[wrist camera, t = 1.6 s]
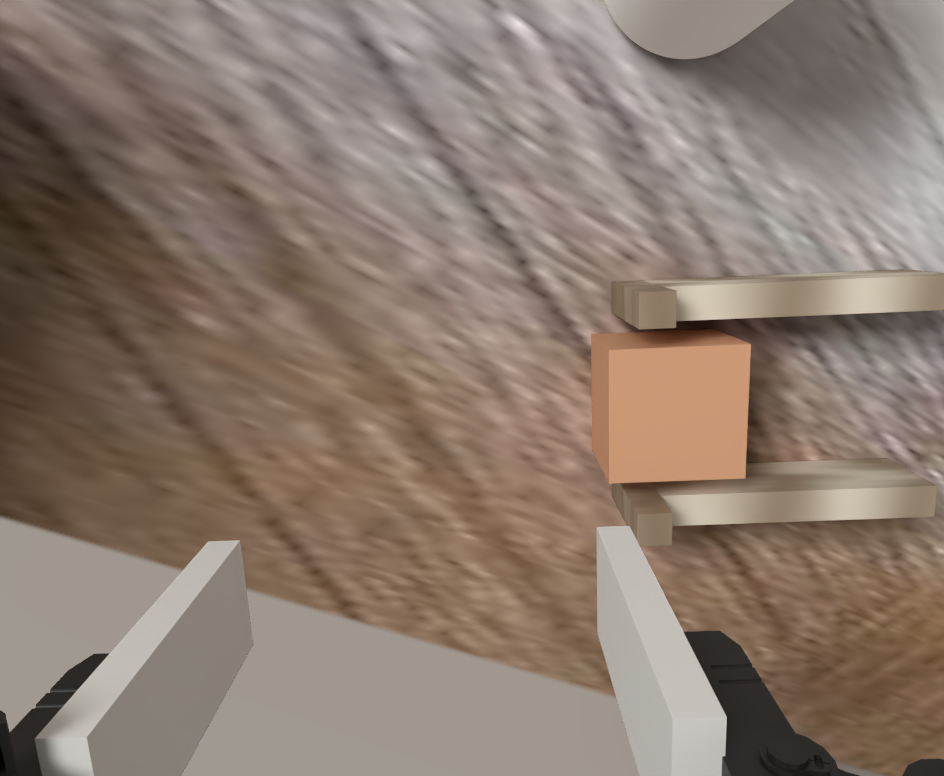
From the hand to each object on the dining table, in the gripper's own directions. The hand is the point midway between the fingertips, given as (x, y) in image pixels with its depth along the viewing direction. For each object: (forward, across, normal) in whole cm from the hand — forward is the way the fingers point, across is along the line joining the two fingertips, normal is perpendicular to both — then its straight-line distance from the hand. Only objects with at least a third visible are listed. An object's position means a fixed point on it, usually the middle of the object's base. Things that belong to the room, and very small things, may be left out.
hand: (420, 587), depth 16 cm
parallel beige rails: (+19, +15, 0) cm, 24 cm away
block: (+20, +10, 0) cm, 22 cm away
